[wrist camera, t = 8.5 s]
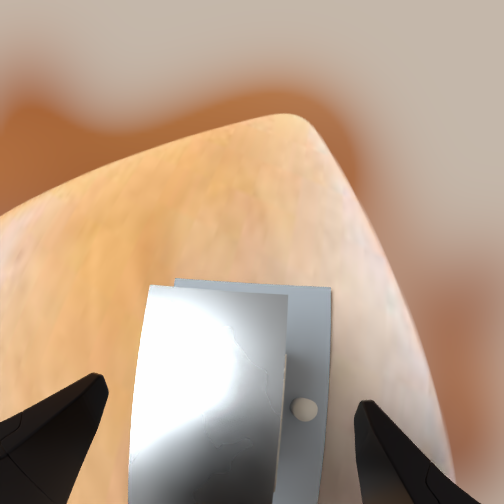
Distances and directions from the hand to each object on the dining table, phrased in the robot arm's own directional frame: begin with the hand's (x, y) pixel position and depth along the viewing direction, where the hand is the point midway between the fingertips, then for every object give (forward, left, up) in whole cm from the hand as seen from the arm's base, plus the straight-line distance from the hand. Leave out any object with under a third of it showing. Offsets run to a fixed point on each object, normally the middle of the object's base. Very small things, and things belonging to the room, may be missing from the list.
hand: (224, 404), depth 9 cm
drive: (0, 0, -8) cm, 8 cm away
